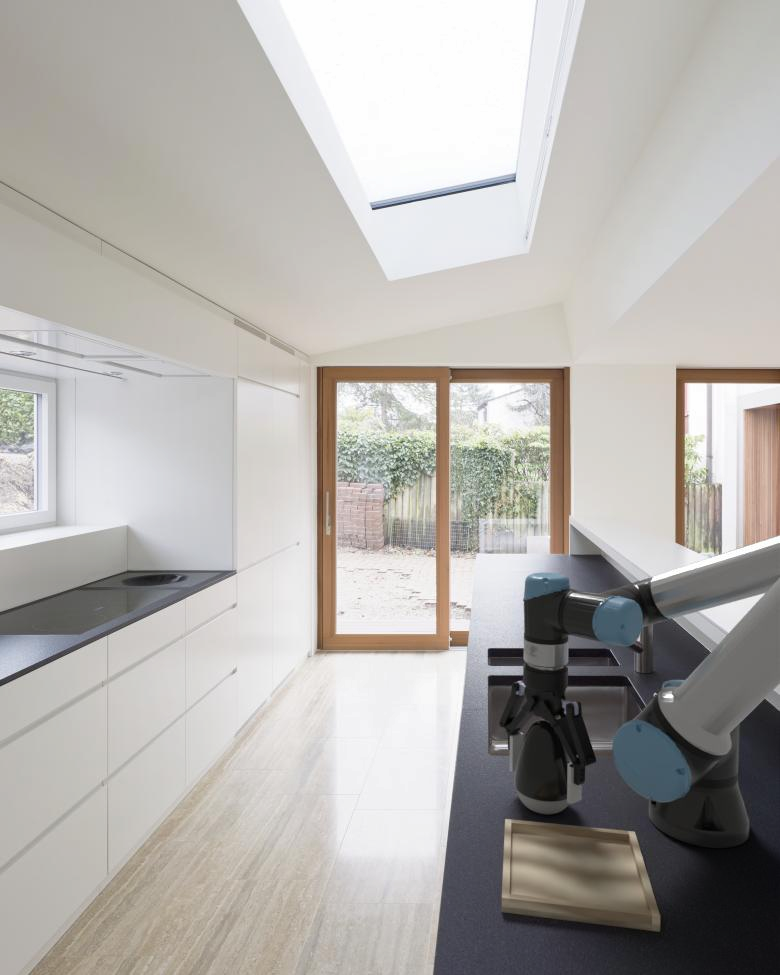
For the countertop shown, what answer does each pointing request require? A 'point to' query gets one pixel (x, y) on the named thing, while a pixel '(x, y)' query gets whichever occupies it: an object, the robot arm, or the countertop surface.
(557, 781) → the pump dispenser
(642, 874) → the birch tray
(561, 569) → the countertop surface
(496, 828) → the countertop surface
